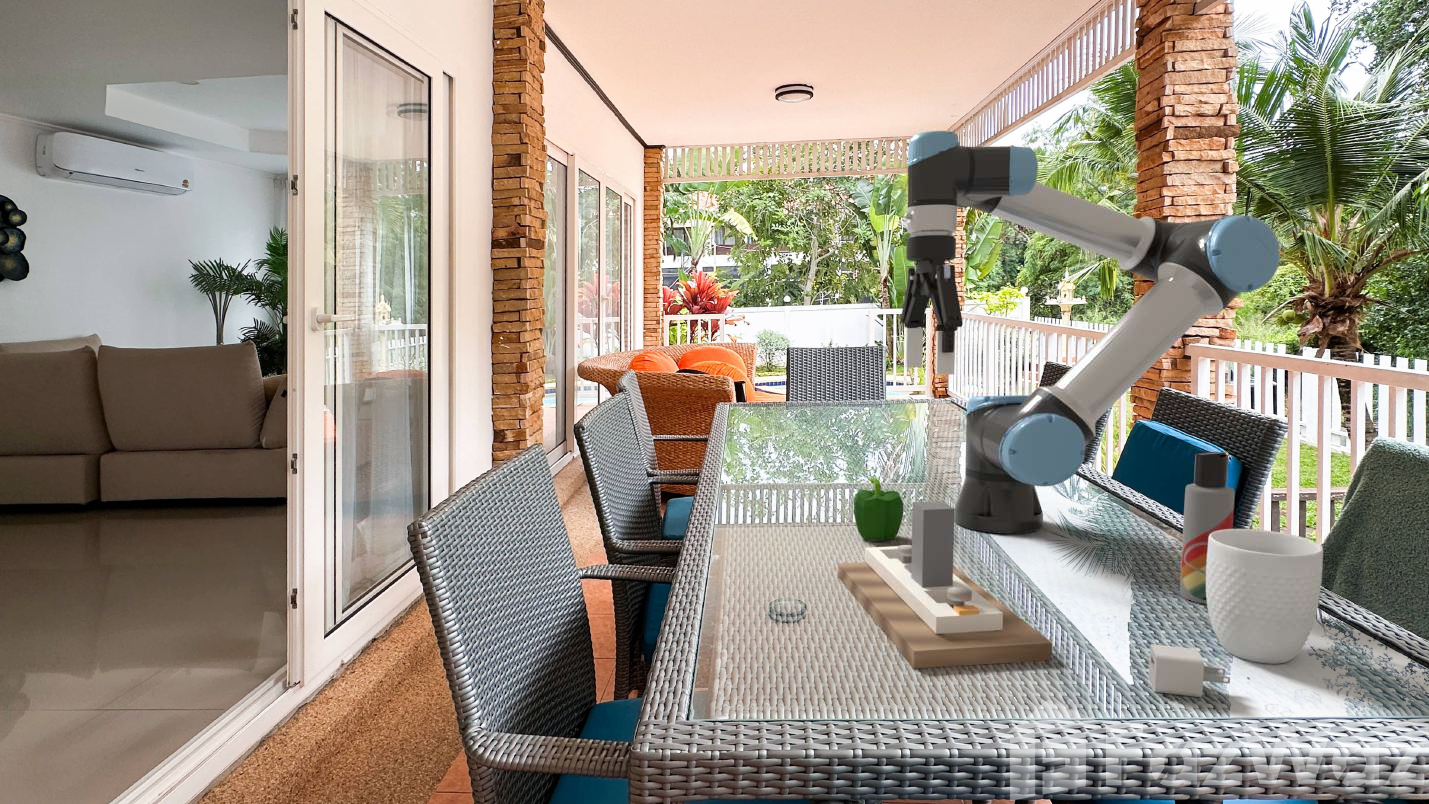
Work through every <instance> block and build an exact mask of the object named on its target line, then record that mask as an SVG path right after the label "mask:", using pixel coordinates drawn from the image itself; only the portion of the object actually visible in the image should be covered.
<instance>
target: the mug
mask: <svg viewBox="0 0 1429 804" xmlns="http://www.w3.org/2000/svg"><path fill="white" fill-rule="evenodd" d="M1323 558H1324V548H1323V547H1322V545H1321V544H1319V543H1318V542H1316V541H1314V540H1312V539H1309V538H1307V537H1306V538H1305V537H1303V536H1299V535H1296V534H1290V533H1285V532H1280V531H1273V530H1264V529H1256V528H1255V529H1253V528H1252V529H1251V528H1233V529H1225V530H1218V531H1215V532H1212V533H1211V534H1210V535H1209V538H1208V551H1207V560H1206V561H1207V564H1206V598H1207V604H1206V605H1207V607H1206V608H1207V611H1208V616H1209V620H1210V622H1211V623H1210V624H1211V627H1212V629H1213V632H1214V634H1215V636H1216V638H1217V639H1218V641H1219V643H1220V644H1221V646H1222V647H1223V649H1224V650H1225V651H1226V652H1227V653H1229V654H1230V655H1232V656H1235V657H1237V658H1240V659H1243V660H1245V661H1249V662H1254V663H1259V664H1267V665H1268V664H1271V665H1274V664H1275V665H1278V664H1284V663H1288V662H1290V661H1291V660H1293V659H1294V658H1295V657H1297V655H1298V654H1299V652H1300V651H1301V650H1302V649H1303V647H1304V646H1305V644H1306V642H1307V641H1308V639H1309V636H1310V634H1311V632H1312V629H1313V626H1314V624H1315V620H1316V618H1317V614H1318V608H1319V602H1320V595H1321V589H1322V581H1323V580H1322V577H1323V570H1324V568H1323V560H1324V559H1323Z"/></svg>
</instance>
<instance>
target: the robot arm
mask: <svg viewBox="0 0 1429 804" xmlns="http://www.w3.org/2000/svg"><path fill="white" fill-rule="evenodd" d="M907 156H908V157H907V164H906V168H907V209H906V210H907V212H905V214H904V215H903V216H904V220H906V233H907V234H909V235H910V236H908V237H907V239H906V248H905V249H906V256H905V258H906V260H907V261H909V262H916V267H909V268H908V271H907V283H906V287H905V288H906V289H905V294H904V299H903V306H902V311H901V316H900V323H901V324H903V325H904V328H905V350H904V351H905V355H904V358H905V359H904V360H905V361H904V363H905V364H904V367H905V368H909V369H910V368H923V354H924V353H923V351H924V350H923V349H924V348H923V346H924V344H923V343H924V328H925V323H924V321H923V319H924V316H925V313H926V310H927V307H928V304H929V301H930V302H931V305H932V308H933V312H934V317H935V319H936V323H937V324H936V326H935V328H934V332H935V334H936V335H935V365H934V367H935V372H934V373H935V374H934V375H939V376H940V375H941V376H942V375H943V376H944V375H946V376H947V375H948V376H949V375H955V363H956V362H955V358H956V357H955V356H956V331H957V330H958V328H962V326H963V316H962V311H961V306H960V301H959V299H960V298H959V294H958V293H959V292H958V288H957V281H956V267H955V264H946V261H948V262H949V261H953V260H955V259H956V256H957V253H956V251H957V250H956V249H957V238H956V236H954V235H953V233H954V234H955V233H956V232H957V230H958V229H957V228H958V227H957V226H958V223H957V222H958V208H970V209H974V210H976V211H980V212H982V213H986V214H988V215H991V216H993V217H994V216H995V217H997V218H999V219H1003V220H1005V221H1007V222H1011V223H1014V224H1016V225H1019V226H1021V227H1025V228H1027V229H1029V230H1032V231H1035V232H1038V233H1040V234H1043V235H1047V236H1050V237H1052V238H1054V239H1056V240H1060V241H1063V242H1065V243H1068V244H1070V245H1074V246H1076V247H1078V248H1081V249H1084V250H1087V251H1089V252H1092V253H1096V254H1097V255H1101V256H1103V257H1106V258H1109V259H1112V260H1114V261H1117V262H1118V267H1119V268H1120V269H1122V270H1124V271H1126V272H1130V273H1131V274H1135V275H1137V276H1140V277H1143V278H1144V279H1147V280H1150V281H1153V282H1154V285H1153V286H1152V287H1150V289H1149V290H1148V291H1147V292H1146V293H1144V295H1142V297H1141V298H1140V299H1139V300H1138V301H1137V302H1136V303H1135V304H1133V306H1131V307H1130V308H1129V310H1127V312H1126V313H1125V314H1123V315H1122V316H1121V317H1120V319H1119V320H1118V321H1117V322H1116V323H1114V325H1113V326H1112V327H1111V328H1110V329H1109V330H1108V331H1107V332H1106V333H1105V334H1104V335H1102V336H1101V338H1100V339H1099V340H1098V341H1096V342H1095V343H1094V345H1093V346H1092V347H1090V349H1089V350H1088V351H1087V352H1086V353H1085V354H1084V355H1082V356H1081V358H1080V359H1078V361H1077V362H1076V363H1075V364H1073V365H1072V367H1071V368H1070V369H1069V370H1068V371H1067V372H1066V373H1065V374H1063V376H1061V378H1060V379H1059V380H1057V382H1055V383H1054V384H1053V385H1050V386H1038V387H1037V388H1036V389H1035V390H1033V392H1032V393H1031V394H1030V395H1029V394H1028V395H978V396H976V395H975V396H973V397H970V398H969V400H968V402H967V407H966V409H967V410H966V413H965V419H966V424H965V425H966V428H965V430H966V432H965V433H966V434H965V470H964V471H965V478H964V482H963V485H962V487H961V490H960V492H959V495H958V498H957V500H956V504H955V507H954V523H956V524H957V525H958V526H961V527H962V528H967V529H971V530H975V531H978V532H979V531H980V532H986V533H992V534H993V533H994V534H1024V533H1025V534H1026V533H1032V532H1036V531H1038V530H1041V529H1042V528H1043V526H1044V512H1043V509H1042V505H1041V503H1040V499H1039V496H1038V491H1037V489H1036V487H1052V486H1056V485H1060V484H1062V483H1064V482H1065V481H1068V480H1069V479H1070V478H1071V477H1073V476H1074V475H1075V474H1076V473H1077V472H1078V470H1079V469H1080V468H1081V466H1082V465H1083V462H1084V459H1085V452H1086V448H1087V445H1088V444H1089V443H1090V442H1091V441H1092V440H1093V439H1094V438H1095V437H1096V435H1097V433H1096V423H1097V421H1098V420H1099V419H1100V418H1101V417H1102V416H1103V415H1104V414H1105V413H1107V411H1108V410H1110V408H1111V407H1112V406H1113V405H1115V403H1116V402H1117V401H1118V400H1119V399H1120V398H1121V397H1123V395H1124V394H1126V392H1127V391H1128V390H1130V388H1131V387H1133V385H1135V383H1136V382H1137V381H1138V380H1139V379H1141V377H1143V375H1145V373H1146V372H1148V370H1149V369H1150V368H1152V367H1153V365H1154V364H1156V363H1157V361H1159V359H1161V357H1163V355H1165V353H1167V352H1168V350H1169V349H1171V348H1172V347H1173V346H1174V345H1175V344H1176V343H1177V342H1178V341H1179V339H1180V338H1182V337H1183V336H1184V335H1185V334H1186V333H1187V332H1188V331H1189V330H1190V329H1191V328H1192V327H1193V326H1194V325H1195V324H1196V323H1197V322H1198V321H1199V320H1200V319H1201V318H1202V317H1204V316H1217V315H1219V314H1220V313H1222V312H1223V311H1224V310H1225V308H1226V307H1227V306H1229V304H1230V303H1232V302H1233V301H1234V300H1235V299H1236V298H1237V296H1239V295H1240V294H1241V293H1251V292H1254V291H1255V290H1259V289H1261V288H1263V287H1265V285H1267V284H1268V283H1269V282H1271V280H1272V279H1273V278H1274V276H1275V274H1276V272H1277V270H1278V268H1279V264H1280V260H1281V256H1280V249H1281V248H1280V243H1279V240H1278V238H1277V235H1276V233H1275V232H1274V230H1273V229H1272V228H1271V227H1270V226H1269V225H1268V224H1267V223H1266V221H1265V222H1264V221H1263V220H1261V219H1260V218H1257V217H1255V216H1251V215H1239V214H1230V215H1227V216H1223V217H1220V218H1213V219H1205V220H1198V221H1189V222H1174V221H1173V222H1171V221H1165V220H1159V219H1157V218H1154V217H1151V216H1149V215H1148V216H1147V215H1146V216H1142V217H1141V218H1136V217H1133V216H1131V215H1129V214H1125V213H1122V212H1121V211H1120V212H1119V211H1117V210H1114V209H1111V208H1109V207H1106V206H1103V205H1100V204H1097V203H1095V202H1092V201H1089V200H1087V199H1084V198H1081V197H1079V196H1076V195H1073V194H1070V193H1067V192H1065V191H1063V190H1059V189H1057V188H1054V187H1051V186H1049V185H1046V184H1043V183H1040V182H1038V181H1037V178H1038V172H1039V166H1038V165H1039V162H1038V157H1037V155H1036V152H1035V151H1034V150H1033V148H1031V147H1028V146H1016V145H1012V144H1011V145H1010V146H1009V145H1007V146H1005V145H1004V146H1002V145H1001V146H965V145H960V142H959V136H958V133H956V132H954V131H947V130H931V131H930V130H929V131H924V132H919V133H916V134H915V135H913V136H912V137H911V139H909V143H908V155H907Z"/></svg>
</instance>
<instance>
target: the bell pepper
mask: <svg viewBox="0 0 1429 804" xmlns="http://www.w3.org/2000/svg"><path fill="white" fill-rule="evenodd" d="M869 481H870V482H871V484H874V489H871V490H868V489H865V488H864V489H863V488H862V489H859V490H858V492H857V493H856V494H855V497H854V498H853V516H854V521H855V525H856V527H857V531H858V533H859V535H860V537H861V538H862V539H864V540H866V541H872V542H878V541H884V540H885V541H886V540H894V539H895V538H896V536H897V535H898V534H899V531H900V528H901V524H902V521H903V518H904V502H903V500H902V497H901V495H900V493H899V491H896V490H888V491H884V490H883V489H882V486H881V482H880V480H879V479H878V478H877V477H871V478H870V479H869Z"/></svg>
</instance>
